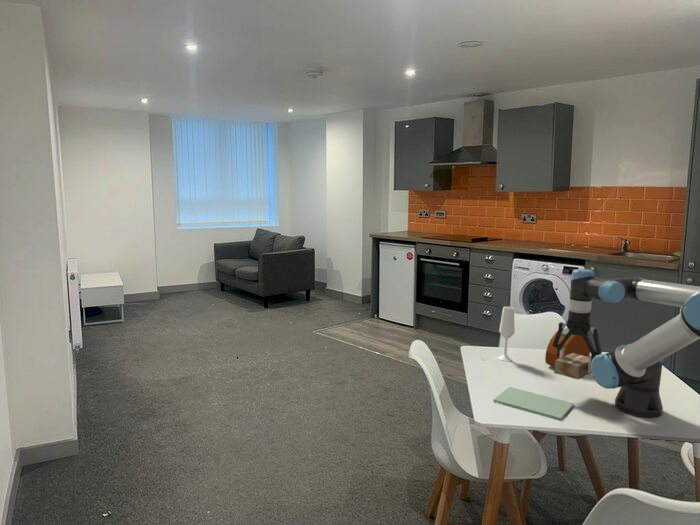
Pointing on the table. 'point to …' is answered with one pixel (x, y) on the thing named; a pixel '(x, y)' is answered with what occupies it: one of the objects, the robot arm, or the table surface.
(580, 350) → the orange toaster
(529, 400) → the rubber mat
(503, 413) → the table surface
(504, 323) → the champagne flute
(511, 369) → the table surface
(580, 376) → the cardboard box
